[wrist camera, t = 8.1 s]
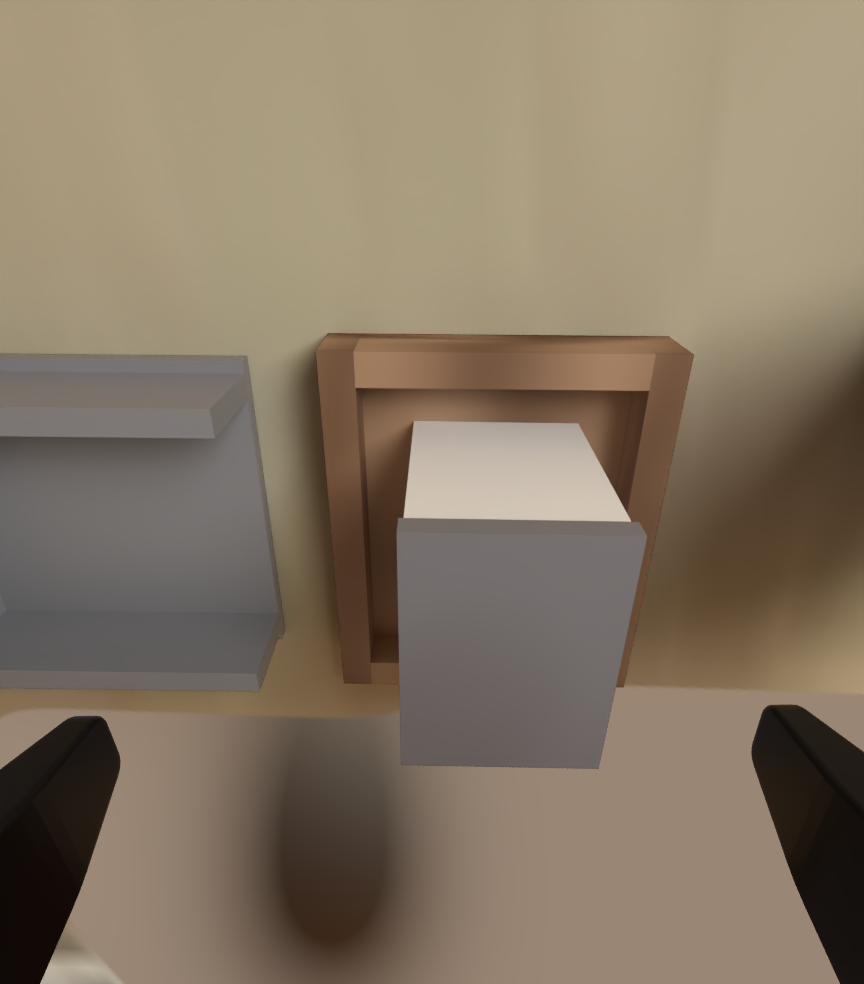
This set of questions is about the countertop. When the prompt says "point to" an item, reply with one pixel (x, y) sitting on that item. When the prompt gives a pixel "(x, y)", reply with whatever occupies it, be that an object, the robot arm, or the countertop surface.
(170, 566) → the grey drawer cabinet
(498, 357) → the walnut tray
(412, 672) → the grey-fronted drawer box
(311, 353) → the countertop surface
